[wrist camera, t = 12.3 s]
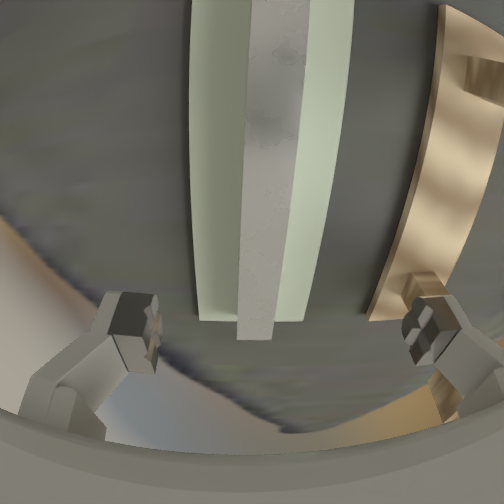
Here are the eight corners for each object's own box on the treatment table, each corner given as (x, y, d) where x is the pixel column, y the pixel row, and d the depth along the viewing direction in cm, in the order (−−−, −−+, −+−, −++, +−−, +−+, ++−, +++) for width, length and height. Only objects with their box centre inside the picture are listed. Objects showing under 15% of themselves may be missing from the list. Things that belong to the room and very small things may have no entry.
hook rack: (438, 5, 13) (610, 19, 1) (505, 42, 14) (646, 90, 1) (365, 314, 30) (410, 444, 18) (424, 310, 31) (477, 420, 19)
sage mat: (196, -40, 12) (195, -43, 11) (352, -26, 13) (355, -27, 12) (200, 315, 29) (199, 320, 29) (301, 316, 30) (302, 320, 29)
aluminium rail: (252, -30, 12) (255, -44, 10) (302, -25, 13) (312, -38, 10) (236, 315, 29) (236, 339, 26) (268, 315, 29) (271, 339, 26)
